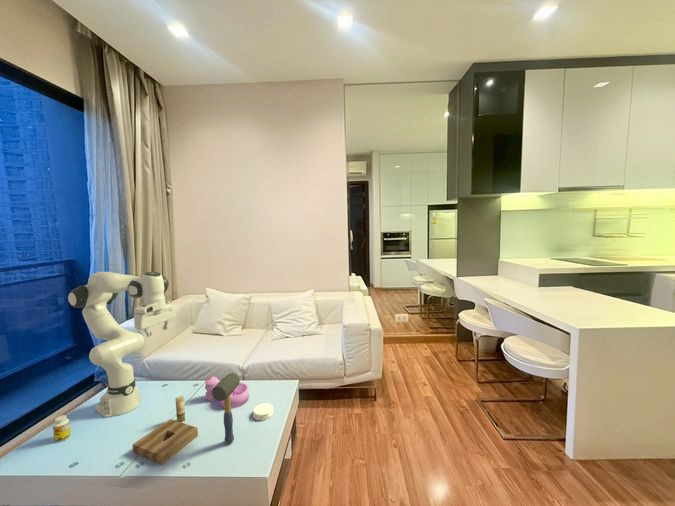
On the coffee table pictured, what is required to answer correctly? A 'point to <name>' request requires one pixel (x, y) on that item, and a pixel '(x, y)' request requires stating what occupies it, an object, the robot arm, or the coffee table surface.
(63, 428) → the supplement bottle
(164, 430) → the walnut board
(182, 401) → the maple dowel
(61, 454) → the coffee table surface
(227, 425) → the rubber mallet
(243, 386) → the container set
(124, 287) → the robot arm
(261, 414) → the cream round disc
